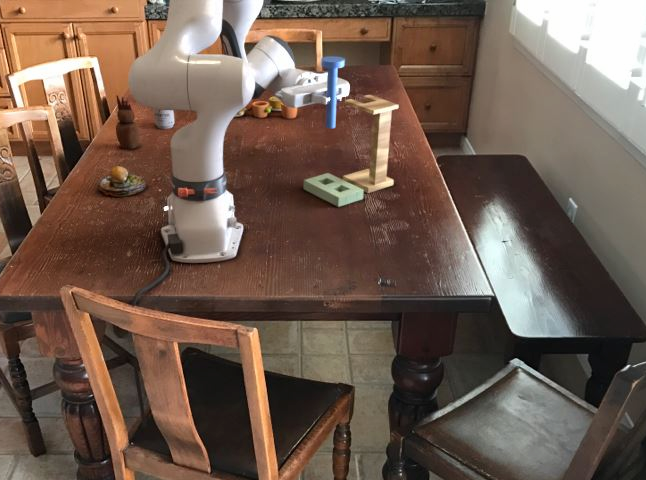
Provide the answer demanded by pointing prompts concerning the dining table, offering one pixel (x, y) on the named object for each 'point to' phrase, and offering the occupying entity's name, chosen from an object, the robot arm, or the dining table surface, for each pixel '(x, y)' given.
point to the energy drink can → (164, 118)
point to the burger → (122, 183)
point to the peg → (332, 86)
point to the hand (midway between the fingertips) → (333, 99)
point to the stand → (375, 145)
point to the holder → (333, 189)
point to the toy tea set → (269, 108)
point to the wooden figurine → (126, 126)
